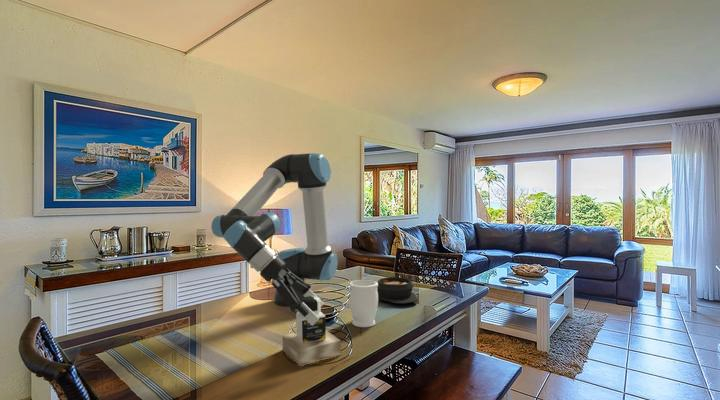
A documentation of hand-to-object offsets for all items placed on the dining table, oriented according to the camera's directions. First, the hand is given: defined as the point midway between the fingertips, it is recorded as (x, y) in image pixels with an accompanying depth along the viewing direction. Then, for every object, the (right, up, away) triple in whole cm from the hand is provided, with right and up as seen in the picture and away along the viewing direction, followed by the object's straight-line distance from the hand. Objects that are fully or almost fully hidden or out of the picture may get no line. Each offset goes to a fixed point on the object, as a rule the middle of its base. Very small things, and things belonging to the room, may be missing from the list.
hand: (318, 314), depth 107 cm
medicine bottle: (-2, -7, 0) cm, 8 cm away
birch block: (-2, -12, 0) cm, 12 cm away
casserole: (+28, -11, +55) cm, 62 cm away
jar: (+14, -11, +24) cm, 30 cm away
